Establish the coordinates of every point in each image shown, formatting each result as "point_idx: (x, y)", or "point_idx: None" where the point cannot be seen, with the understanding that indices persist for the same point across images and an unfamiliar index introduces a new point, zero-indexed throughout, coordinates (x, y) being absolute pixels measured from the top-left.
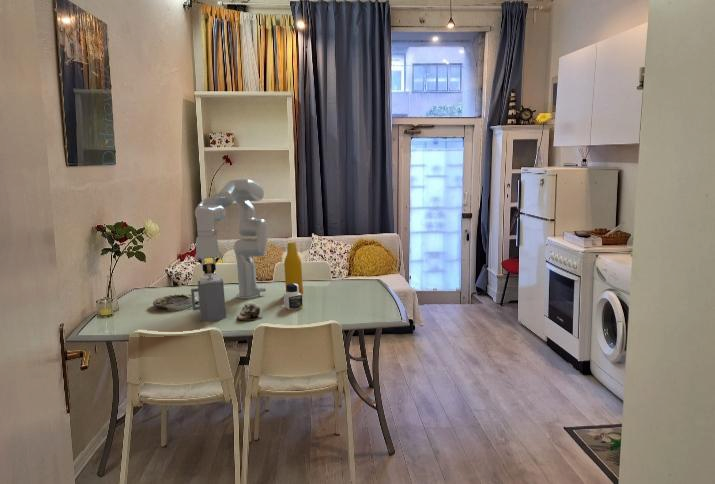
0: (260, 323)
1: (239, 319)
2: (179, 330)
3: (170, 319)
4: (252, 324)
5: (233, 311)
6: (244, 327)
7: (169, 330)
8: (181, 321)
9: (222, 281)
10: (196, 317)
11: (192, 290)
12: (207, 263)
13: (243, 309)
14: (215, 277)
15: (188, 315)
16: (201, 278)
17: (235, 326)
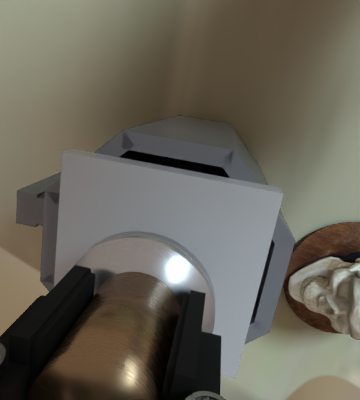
0: (349, 376)
1: (288, 297)
2: (39, 268)
3: (5, 82)
4: (315, 368)
5: (317, 126)
6: (273, 381)
7: (3, 245)
8: (52, 148)
9: (260, 333)
10: (122, 123)
11: (29, 223)
12: (69, 392)
13: (326, 313)
14: (221, 236)
15: (90, 60)
16: (76, 188)
17: (246, 350)
